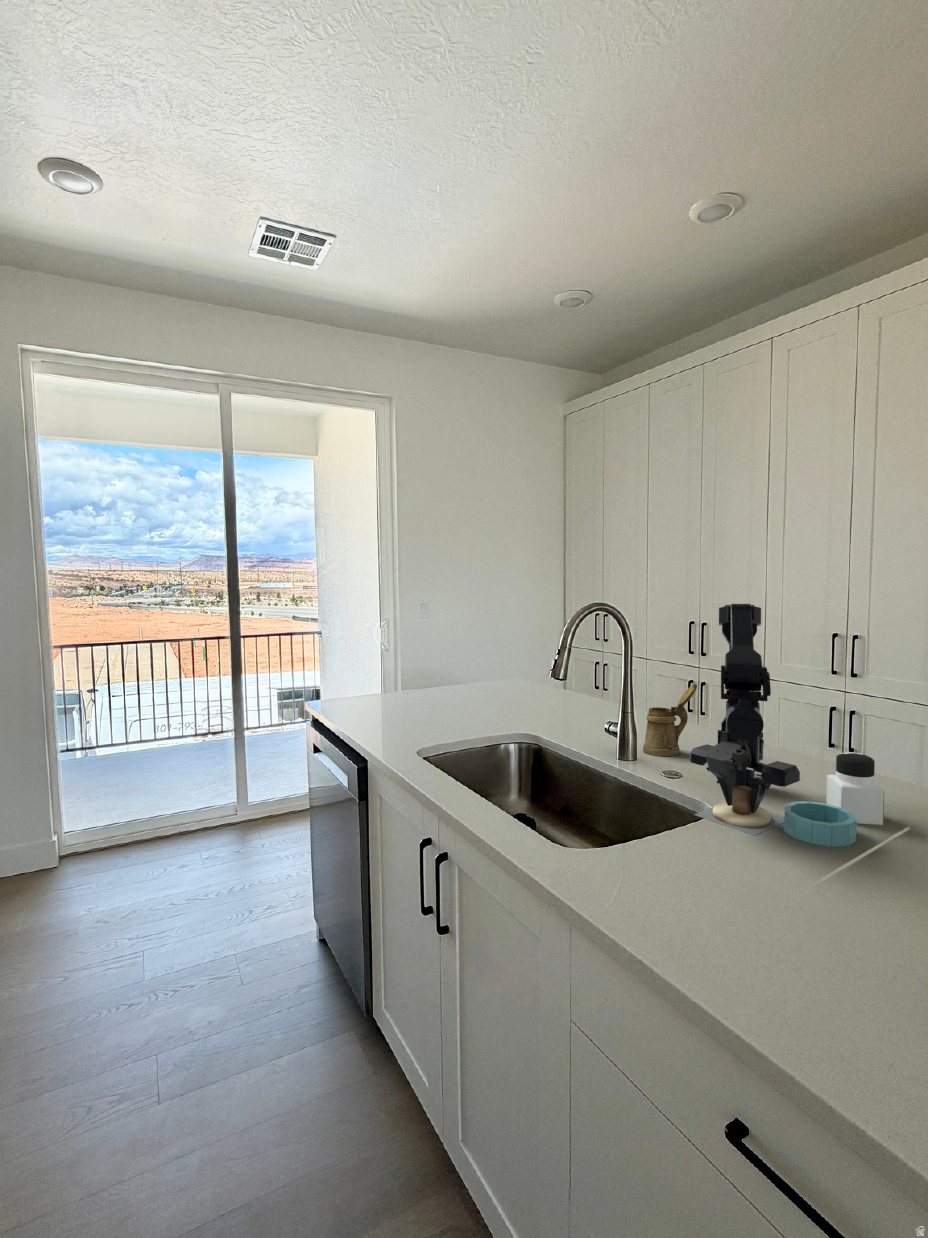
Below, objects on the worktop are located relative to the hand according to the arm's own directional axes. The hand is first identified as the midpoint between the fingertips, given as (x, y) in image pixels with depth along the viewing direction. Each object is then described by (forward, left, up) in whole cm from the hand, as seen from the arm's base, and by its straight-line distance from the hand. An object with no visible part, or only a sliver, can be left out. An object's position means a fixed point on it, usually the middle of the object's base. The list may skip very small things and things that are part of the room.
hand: (741, 809), depth 115 cm
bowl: (+12, +4, -2) cm, 13 cm away
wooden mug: (-36, +27, -2) cm, 45 cm away
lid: (0, 0, -2) cm, 2 cm away
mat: (0, 0, -2) cm, 2 cm away
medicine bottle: (+12, +17, -2) cm, 21 cm away
